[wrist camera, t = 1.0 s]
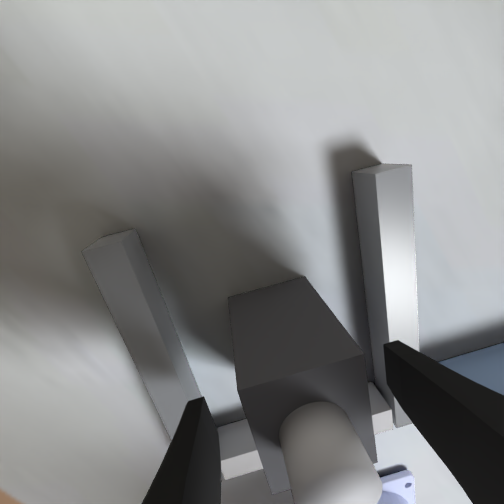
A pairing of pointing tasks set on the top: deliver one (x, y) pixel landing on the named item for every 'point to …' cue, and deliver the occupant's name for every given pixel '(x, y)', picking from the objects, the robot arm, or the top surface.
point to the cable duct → (377, 299)
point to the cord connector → (304, 395)
